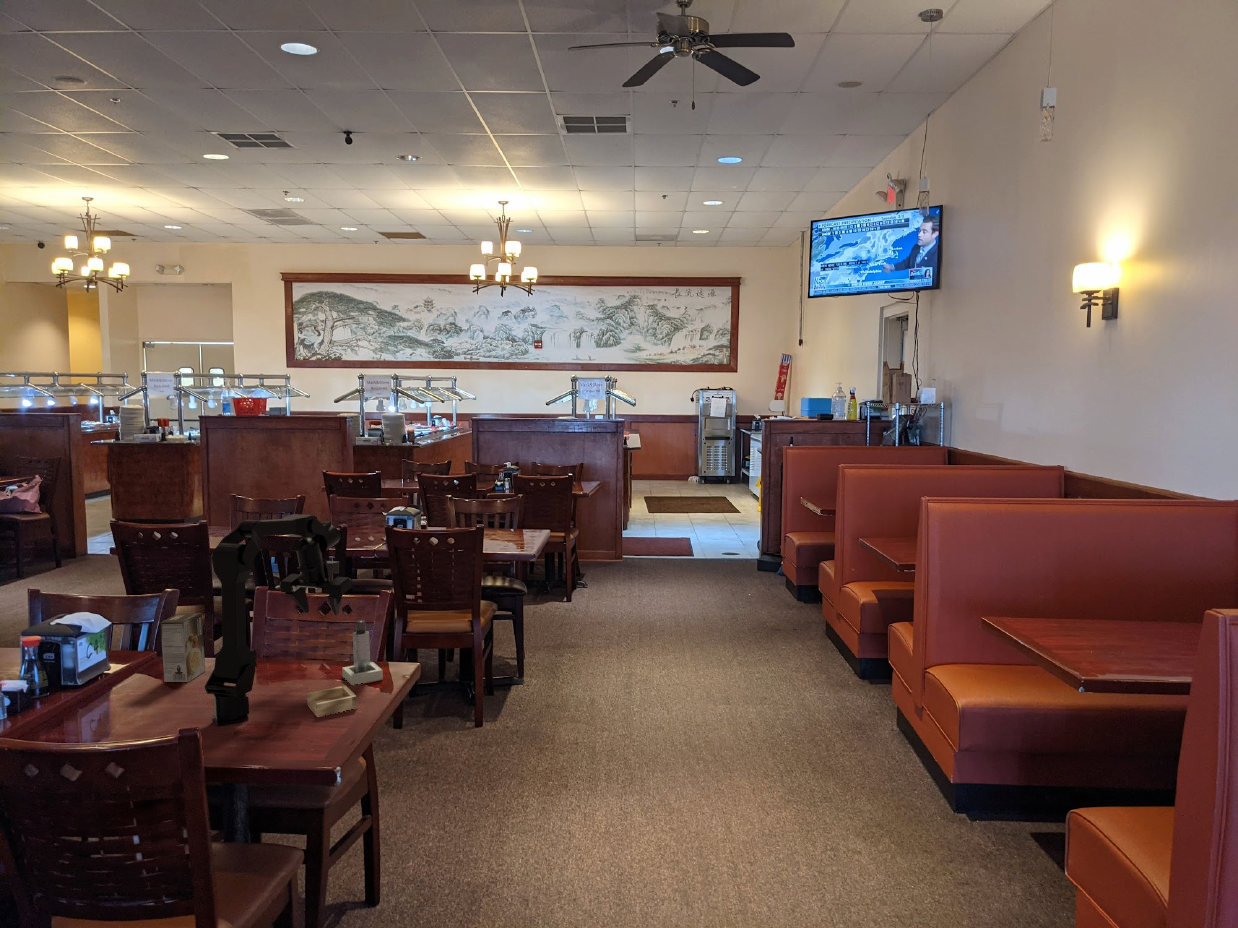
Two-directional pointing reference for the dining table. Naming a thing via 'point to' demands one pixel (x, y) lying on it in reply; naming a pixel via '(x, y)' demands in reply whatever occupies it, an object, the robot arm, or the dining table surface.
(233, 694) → the robot arm
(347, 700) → the beige square tray
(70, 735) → the dining table surface
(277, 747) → the dining table surface
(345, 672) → the socket block
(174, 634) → the coffee box
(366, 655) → the silver and grey cylinder
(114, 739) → the dining table surface
